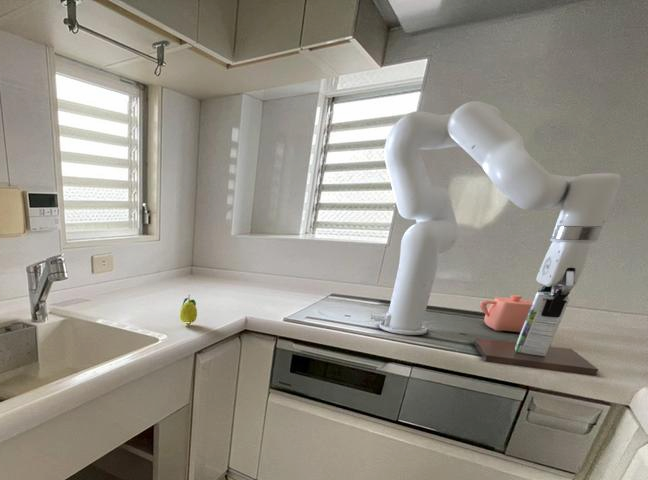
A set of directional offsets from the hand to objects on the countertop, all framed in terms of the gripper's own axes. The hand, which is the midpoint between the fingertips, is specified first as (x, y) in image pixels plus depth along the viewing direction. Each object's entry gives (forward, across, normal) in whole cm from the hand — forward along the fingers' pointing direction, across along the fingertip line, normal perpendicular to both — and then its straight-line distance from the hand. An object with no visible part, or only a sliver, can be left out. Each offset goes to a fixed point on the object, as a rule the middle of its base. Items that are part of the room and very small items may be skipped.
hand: (545, 312), depth 97 cm
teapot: (+12, -30, +2) cm, 32 cm away
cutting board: (+12, 0, 0) cm, 12 cm away
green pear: (+12, +12, -88) cm, 90 cm away
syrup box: (+10, 0, 0) cm, 10 cm away
